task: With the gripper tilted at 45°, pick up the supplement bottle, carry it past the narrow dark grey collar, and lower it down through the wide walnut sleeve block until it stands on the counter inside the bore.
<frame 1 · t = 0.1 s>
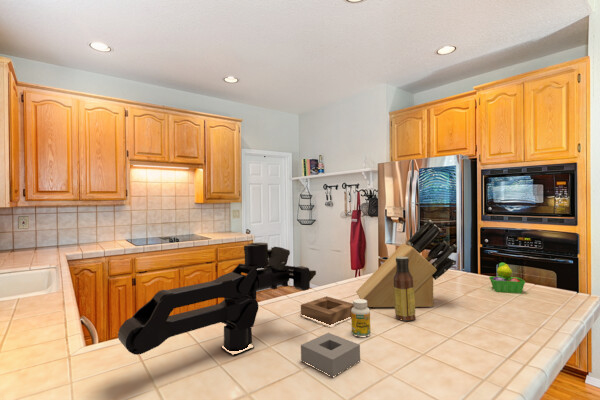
hand: (305, 270, 100), 17 cm above the countertop, tool horizontal, fingers open, 9 cm apart
grey narrow collar: (330, 361, 75), on the countertop
fruit basket: (506, 291, 131), on the countertop
walnut sleeve block: (328, 316, 104), on the countertop
knife block: (405, 304, 116), on the countertop
sauce bottle: (404, 318, 102), on the countertop
supplement bottle: (361, 334, 90), on the countertop
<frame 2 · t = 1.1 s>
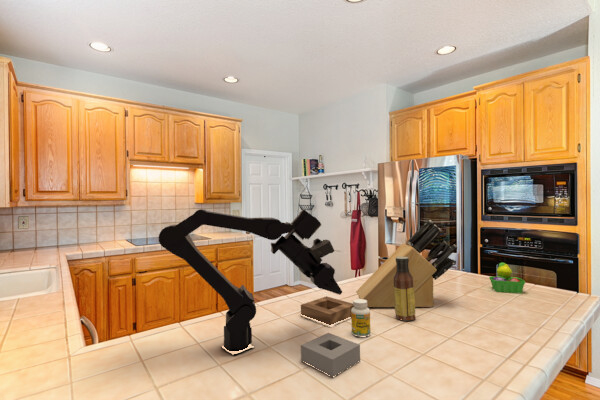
hand: (335, 288, 89), 14 cm above the countertop, tool tilted 45°, fingers open, 9 cm apart
nothing on the countertop moved.
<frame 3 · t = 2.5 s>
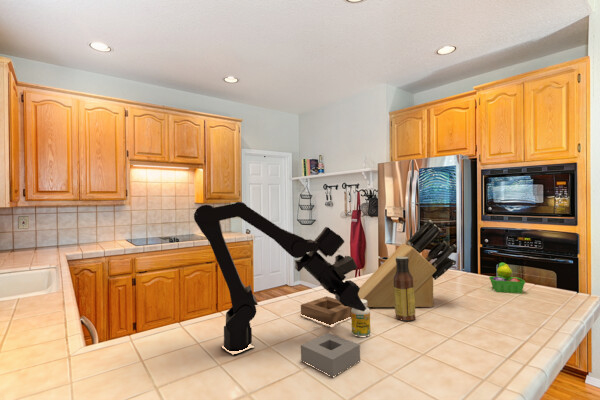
hand: (358, 304, 90), 9 cm above the countertop, tool tilted 45°, fingers open, 9 cm apart
nothing on the countertop moved.
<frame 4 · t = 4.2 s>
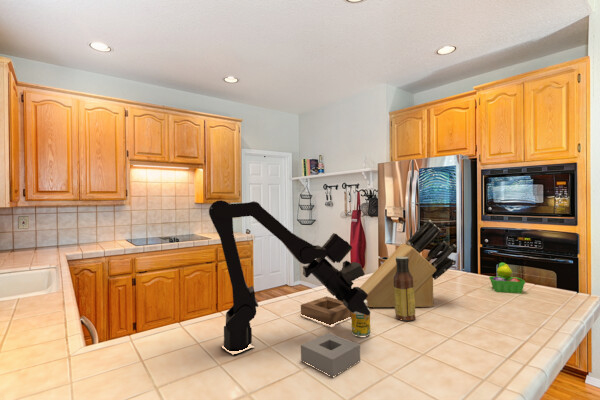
hand: (365, 310, 91), 7 cm above the countertop, tool tilted 45°, fingers closed on supplement bottle, 5 cm apart
supplement bottle: (361, 334, 90), on the countertop, touching gripper
everything else where it was.
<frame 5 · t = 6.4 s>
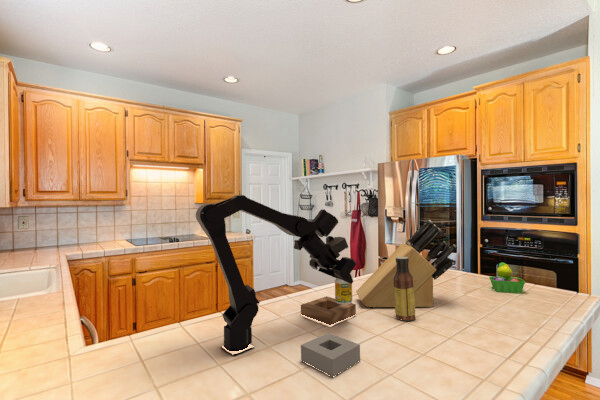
hand: (346, 280, 99), 13 cm above the countertop, tool tilted 45°, fingers closed on supplement bottle, 5 cm apart
supplement bottle: (343, 303, 98), point 6 cm above the countertop, touching gripper
everything else where it was.
when the fingers open (8 cm above the countertop, at t = 8.8 s): supplement bottle drops 1 cm, resting in walnut sleeve block.
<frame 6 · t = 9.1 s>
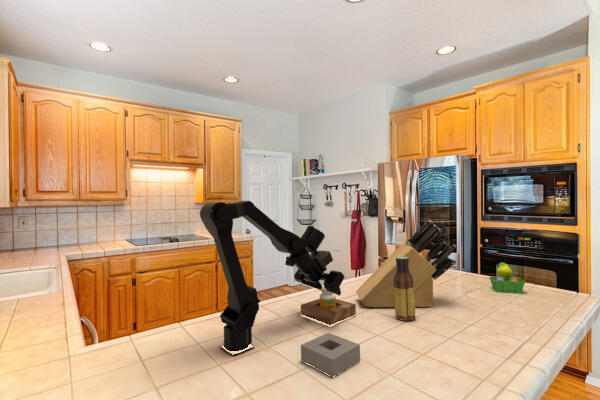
hand: (330, 291, 105), 8 cm above the countertop, tool tilted 45°, fingers open, 8 cm apart
supplement bottle: (328, 317, 104), resting in walnut sleeve block
everything else where it was.
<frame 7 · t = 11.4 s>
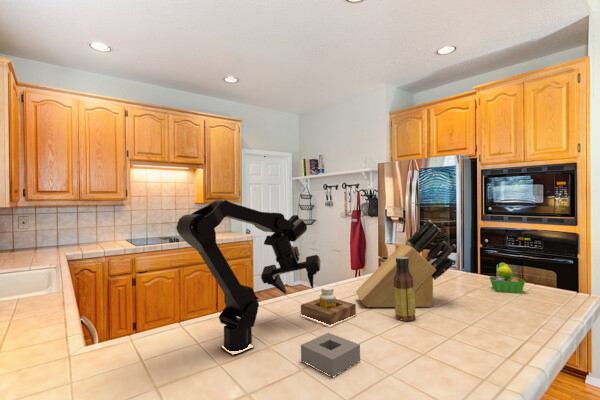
hand: (299, 290, 101), 10 cm above the countertop, tool tilted 25°, fingers open, 9 cm apart
nothing on the countertop moved.
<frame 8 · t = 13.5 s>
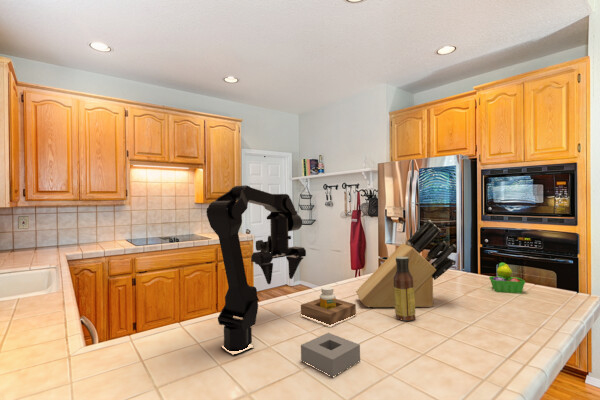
hand: (280, 281, 101), 13 cm above the countertop, tool pointing down, fingers open, 9 cm apart
nothing on the countertop moved.
at the end: supplement bottle 0.2 cm off-centre on the walnut sleeve block, point 0.0 cm above the walnut sleeve block's base; supplement bottle tilted 0° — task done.
